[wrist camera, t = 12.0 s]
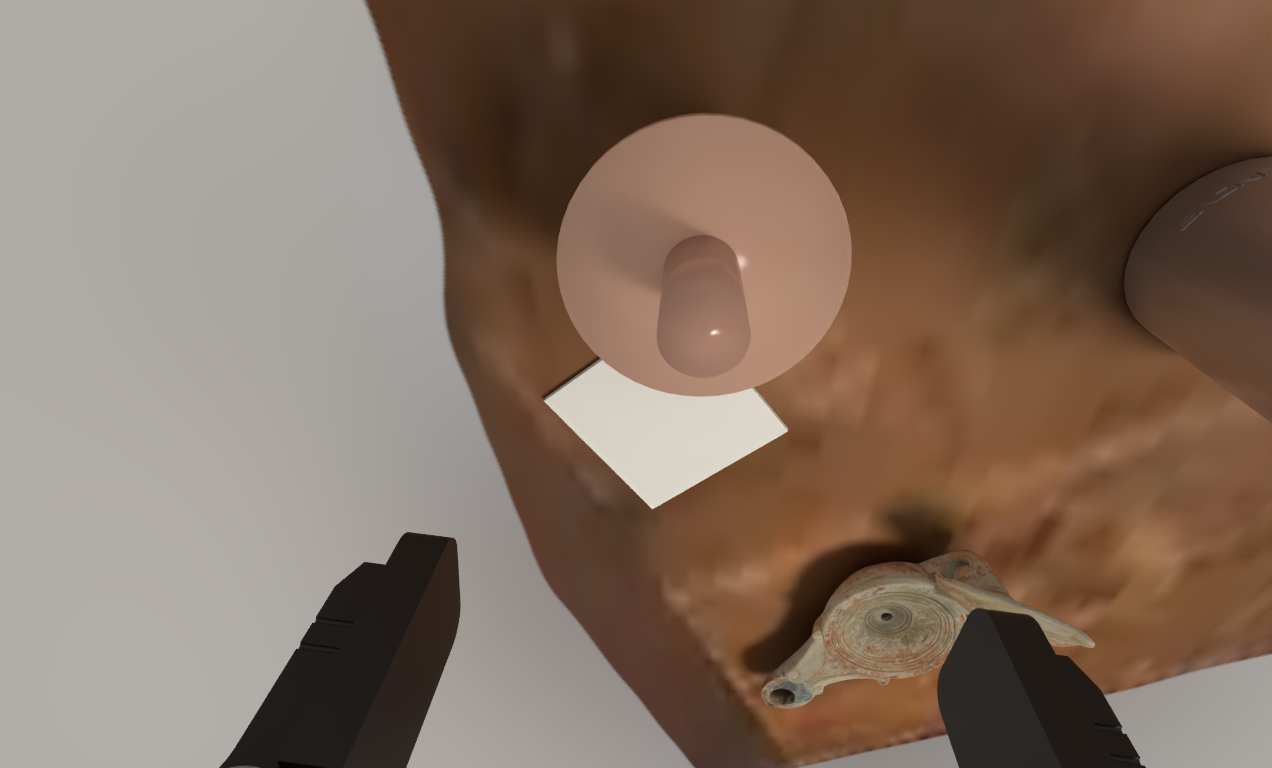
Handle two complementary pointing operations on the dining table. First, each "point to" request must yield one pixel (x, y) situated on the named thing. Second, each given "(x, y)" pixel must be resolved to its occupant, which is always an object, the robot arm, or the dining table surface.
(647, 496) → the mat
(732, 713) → the dining table surface
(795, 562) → the dining table surface
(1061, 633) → the oil lamp
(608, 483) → the dining table surface
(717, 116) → the lid
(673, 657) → the dining table surface
